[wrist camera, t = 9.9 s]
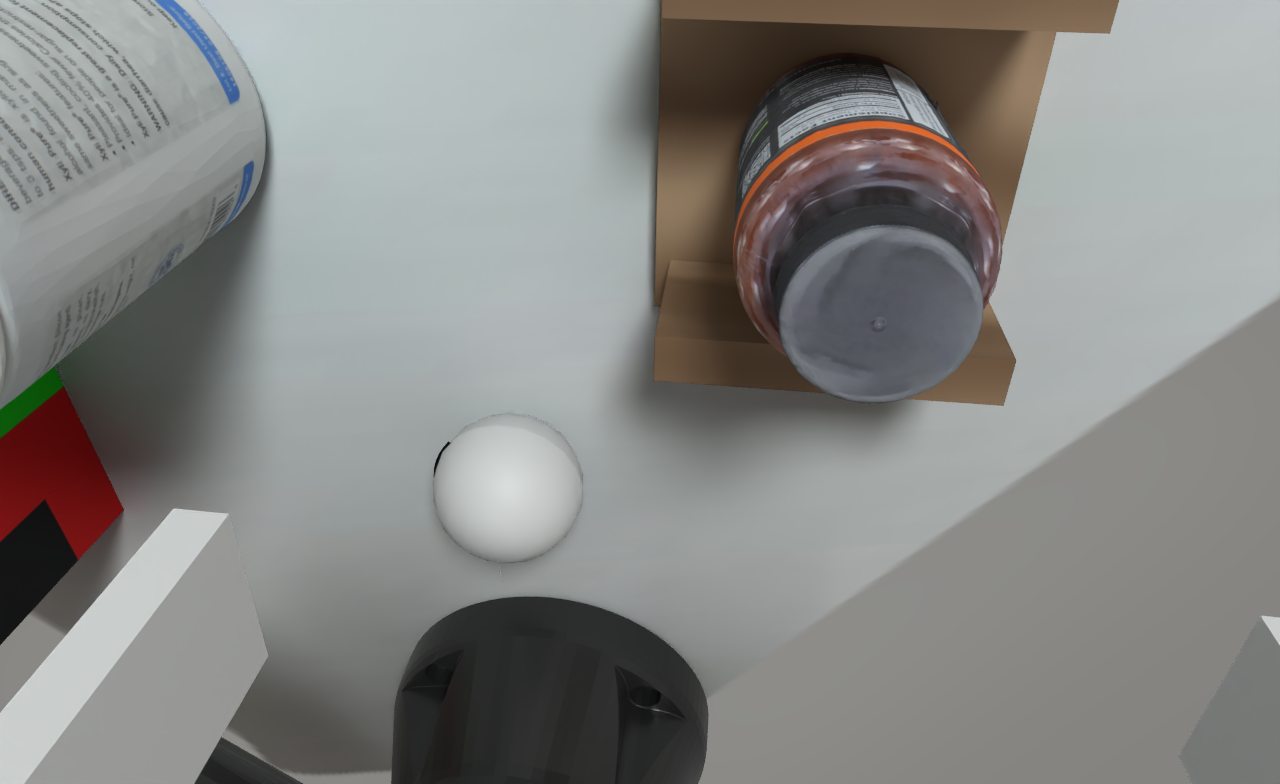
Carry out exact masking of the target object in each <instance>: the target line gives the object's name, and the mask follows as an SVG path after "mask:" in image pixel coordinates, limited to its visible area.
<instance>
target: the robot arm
mask: <svg viewBox="0 0 1280 784" xmlns="http://www.w3.org/2000/svg"><path fill="white" fill-rule="evenodd" d="M267 657H268V653H267V649H266V645H265V642H264V638H263V635H262V631H261V627H260V624H259V620H258V617H257V613H256V609H255V606H254V602H253V599H252V595H251V591H250V588H249V584H248V580H247V577H246V573H245V570H244V566H243V562H242V559H241V555H240V552H239V548H238V544H237V541H236V537H235V534H234V530H233V526H232V523H231V519H230V516H229V514H225V513H215V512H204V511H194V510H184V509H173V510H172V511H171V512H170V513H169V514H168V516H167V517H166V518H165V519H164V520H163V522H162V523H161V524H160V525H159V526H158V527H157V529H156V530H155V531H154V532H153V533H152V534H151V536H150V537H149V538H148V539H147V540H146V542H145V543H144V544H143V545H142V546H141V547H140V549H139V550H138V551H137V552H136V553H135V555H134V556H133V557H132V558H131V559H130V560H129V562H128V563H127V564H126V565H125V566H124V568H123V569H122V570H121V571H120V572H119V573H118V575H117V576H116V577H115V578H114V579H113V580H112V582H111V583H110V584H109V585H108V586H107V588H106V589H105V590H104V591H103V592H102V593H101V595H100V596H99V597H98V598H97V599H96V601H95V602H94V603H93V604H92V605H91V606H90V608H89V609H88V610H87V611H86V612H85V613H84V615H83V616H82V617H81V618H80V619H79V621H78V622H77V623H76V624H75V625H74V626H73V628H72V629H71V630H70V631H69V632H68V634H67V635H66V636H65V637H64V638H63V640H62V641H61V642H60V643H59V644H58V645H57V646H56V648H55V649H54V650H53V651H52V653H51V654H50V655H49V656H48V657H47V658H46V659H45V661H44V662H43V663H42V664H41V665H40V667H39V668H38V669H37V670H36V671H35V673H34V674H33V675H32V676H31V677H30V678H29V680H28V681H27V682H26V683H25V684H24V685H23V687H22V688H21V689H20V690H19V691H18V693H17V694H16V695H15V696H14V697H13V698H12V700H11V701H10V702H9V703H8V704H7V706H6V707H5V708H4V709H3V710H2V711H1V713H0V784H303V783H301V782H299V781H297V780H296V779H294V778H292V777H290V776H289V775H287V774H285V773H283V772H282V771H280V770H278V769H276V768H275V767H273V766H271V765H269V764H268V763H266V762H264V761H262V760H261V759H259V758H257V757H255V756H254V755H252V754H250V753H248V752H246V751H245V750H243V749H241V748H239V747H238V746H236V745H234V744H232V743H231V742H229V741H227V740H225V739H224V738H222V735H223V733H224V731H225V730H226V728H227V726H228V725H229V723H230V721H231V719H232V718H233V716H234V714H235V712H236V711H237V709H238V707H239V706H240V704H241V702H242V700H243V699H244V697H245V695H246V694H247V692H248V690H249V688H250V687H251V685H252V683H253V682H254V680H255V678H256V676H257V675H258V673H259V671H260V669H261V668H262V666H263V664H264V663H265V661H266V659H267ZM707 733H708V706H707V701H706V697H705V694H704V691H703V689H702V686H701V684H700V682H699V680H698V679H697V677H696V675H695V674H694V672H693V671H692V669H691V668H690V667H689V665H688V664H687V663H686V662H685V660H684V659H683V658H682V657H681V656H680V655H679V654H678V653H677V652H676V651H675V650H674V649H673V648H672V647H671V646H669V645H668V644H667V643H666V642H664V641H663V640H662V639H660V638H659V637H658V636H656V635H655V634H653V633H652V632H650V631H649V630H647V629H645V628H644V627H642V626H640V625H638V624H636V623H634V622H633V621H630V620H628V619H626V618H624V617H622V616H619V615H617V614H614V613H612V612H609V611H606V610H604V609H601V608H597V607H594V606H590V605H587V604H583V603H578V602H574V601H568V600H562V599H554V598H543V597H513V598H503V599H497V600H491V601H486V602H482V603H478V604H475V605H472V606H469V607H466V608H463V609H461V610H459V611H456V612H454V613H452V614H450V615H449V616H447V617H445V618H444V619H442V620H441V621H439V622H438V623H436V624H435V625H434V626H433V627H432V628H430V629H429V630H428V632H427V633H426V634H425V635H424V636H423V637H422V638H421V640H420V641H419V643H418V644H417V646H416V648H415V650H414V652H413V654H412V656H411V659H410V661H409V664H408V666H407V668H406V671H405V673H404V676H403V678H402V681H401V683H400V686H399V689H398V692H397V697H396V702H395V709H394V731H393V756H392V781H391V784H698V782H699V780H700V777H701V775H702V771H703V767H704V763H705V758H706V750H707ZM1179 758H1180V760H1181V762H1182V764H1183V766H1184V768H1185V770H1186V773H1187V775H1188V777H1189V779H1190V781H1191V783H1192V784H1280V618H1277V617H1268V616H1260V617H1259V619H1258V621H1257V622H1256V624H1255V626H1254V628H1253V629H1252V631H1251V633H1250V634H1249V636H1248V638H1247V640H1246V641H1245V643H1244V645H1243V646H1242V648H1241V650H1240V652H1239V653H1238V655H1237V657H1236V658H1235V660H1234V662H1233V663H1232V665H1231V667H1230V669H1229V670H1228V672H1227V674H1226V675H1225V677H1224V679H1223V680H1222V682H1221V684H1220V686H1219V687H1218V689H1217V691H1216V693H1215V694H1214V696H1213V698H1212V699H1211V701H1210V703H1209V704H1208V706H1207V708H1206V710H1205V711H1204V713H1203V715H1202V716H1201V718H1200V720H1199V721H1198V723H1197V725H1196V727H1195V728H1194V730H1193V732H1192V734H1191V735H1190V737H1189V738H1188V740H1187V742H1186V744H1185V745H1184V747H1183V749H1182V750H1181V752H1180V754H1179Z"/></svg>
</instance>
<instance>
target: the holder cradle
mask: <svg viewBox="0 0 1280 784" xmlns="http://www.w3.org/2000/svg"><path fill="white" fill-rule="evenodd" d="M1118 2H1119V0H661V41H660V85H659V129H658V173H657V217H656V261H655V305H654V306H661V309H660V313H659V318H658V323H657V328H656V333H655V349H654V381H664V382H678V383H692V384H706V385H720V386H734V387H748V388H762V389H776V390H790V391H804V392H818V393H826V392H824V391H822V390H820V389H818V388H817V387H815V386H814V385H812V384H811V383H809V382H808V381H807V380H806V379H805V378H803V377H802V376H801V375H800V374H799V373H798V371H797V370H796V369H795V367H794V366H793V364H792V363H791V362H790V360H789V358H788V357H787V356H785V355H784V354H782V353H781V352H780V351H778V350H777V349H776V348H774V347H773V346H772V345H771V344H770V343H769V342H768V341H767V340H766V339H765V338H764V337H763V336H762V334H761V333H760V332H759V331H758V330H757V329H756V327H755V326H754V324H753V323H752V321H751V319H750V318H749V316H748V314H747V312H746V310H745V308H744V306H743V304H742V301H741V298H740V295H739V292H738V288H737V284H736V278H735V274H734V263H733V243H734V224H735V204H736V186H737V173H738V157H739V148H740V144H741V140H742V136H743V133H744V131H745V127H746V124H747V121H748V119H749V117H750V115H751V113H752V111H753V109H754V107H755V106H756V105H757V103H758V101H759V99H760V98H761V97H762V96H763V95H764V93H765V92H766V91H767V90H768V89H769V88H770V87H771V86H772V85H773V84H774V83H775V82H776V81H777V80H778V79H779V78H780V77H781V76H783V75H784V74H786V73H787V72H789V71H790V70H792V69H793V68H795V67H797V66H799V65H801V64H803V63H805V62H808V61H810V60H813V59H815V58H819V57H823V56H827V55H833V54H844V53H855V54H864V55H870V56H873V57H877V58H880V59H882V60H884V61H887V62H890V63H892V64H893V65H895V66H897V67H898V68H900V69H902V70H903V71H904V72H905V73H907V74H908V75H909V76H910V77H912V78H913V79H914V80H915V81H916V82H917V83H918V84H919V85H920V86H921V87H922V88H923V89H924V90H925V91H926V92H927V93H928V95H929V96H930V98H931V100H933V101H934V104H935V106H936V101H938V104H939V110H940V112H941V115H942V117H943V118H944V120H945V121H946V123H947V125H948V126H949V128H950V129H951V131H952V132H953V134H954V135H955V136H956V138H957V140H958V142H959V143H960V145H961V147H962V149H964V150H965V151H966V153H967V155H968V157H969V159H970V161H971V162H972V164H973V166H974V167H975V168H976V169H977V170H978V171H979V173H980V174H981V177H982V180H983V182H984V184H985V186H986V187H987V189H988V191H989V192H990V194H991V197H992V199H993V202H994V203H995V206H996V210H997V211H998V215H999V219H1000V224H1001V228H1002V230H1001V232H1002V245H1003V241H1004V237H1005V233H1006V229H1007V225H1008V221H1009V217H1010V213H1011V210H1012V206H1013V202H1014V198H1015V194H1016V190H1017V186H1018V182H1019V178H1020V174H1021V170H1022V166H1023V162H1024V158H1025V154H1026V150H1027V147H1028V143H1029V139H1030V135H1031V131H1032V127H1033V123H1034V119H1035V115H1036V111H1037V107H1038V103H1039V99H1040V95H1041V91H1042V87H1043V84H1044V80H1045V76H1046V72H1047V68H1048V64H1049V60H1050V56H1051V52H1052V48H1053V44H1054V40H1055V36H1056V32H1079V33H1108V34H1110V31H1111V27H1112V24H1113V20H1114V17H1115V13H1116V10H1117V6H1118ZM936 107H937V106H936ZM1015 364H1016V359H1015V357H1014V354H1013V352H1012V350H1011V348H1010V346H1009V344H1008V342H1007V339H1006V337H1005V335H1004V333H1003V331H1002V329H1001V327H1000V324H999V322H998V320H997V318H996V316H995V314H994V312H993V309H992V307H991V305H990V303H989V302H988V304H987V305H986V308H985V309H984V310H983V319H982V324H981V328H980V332H979V335H978V338H977V340H976V342H975V344H974V346H973V348H972V350H971V352H970V353H969V354H968V356H967V357H966V359H965V360H964V361H963V362H962V363H961V364H960V366H959V367H958V368H957V370H955V371H954V372H953V373H952V374H950V375H949V376H948V377H947V378H946V379H944V380H943V381H942V382H941V383H939V384H938V385H936V386H935V387H933V388H932V389H929V390H927V391H925V392H922V393H919V394H917V395H916V396H913V397H909V398H905V399H916V400H931V401H945V402H959V403H973V404H987V405H1001V406H1004V402H1005V399H1006V395H1007V392H1008V388H1009V385H1010V381H1011V378H1012V374H1013V371H1014V367H1015Z"/></svg>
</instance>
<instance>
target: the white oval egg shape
mask: <svg viewBox="0 0 1280 784" xmlns="http://www.w3.org/2000/svg"><path fill="white" fill-rule="evenodd" d="M582 490H583V473H582V470H581V467H580V464H579V461H578V458H577V456H576V454H575V452H574V451H573V449H572V447H571V446H570V445H569V443H568V442H567V441H566V439H565V438H564V437H563V435H562V434H561V433H560V432H558V431H557V430H556V429H554V428H553V427H552V426H550V425H549V424H548V423H546V422H544V421H542V420H539V419H537V418H534V417H532V416H529V415H523V414H515V413H505V414H498V415H492V416H489V417H486V418H483V419H481V420H479V421H477V422H474V423H472V424H470V425H468V426H466V427H464V428H463V429H462V431H461V432H460V433H459V434H458V435H457V436H456V437H455V438H454V439H453V440H452V441H451V442H448V443H447V444H446V445H445V446H444V447H443V449H442V450H441V452H440V453H439V455H438V457H437V460H436V463H435V467H434V481H433V496H434V504H435V507H436V511H437V515H438V517H439V519H440V522H441V524H442V526H443V528H444V530H445V531H446V532H447V534H448V535H449V536H450V537H451V538H452V539H453V540H454V541H455V543H457V544H458V545H459V546H461V547H462V548H464V549H465V550H467V551H468V552H470V553H471V554H473V555H474V556H477V557H479V558H482V559H485V560H487V561H494V562H498V563H499V562H501V563H513V562H524V561H528V560H531V559H533V558H536V557H538V556H541V555H542V554H544V553H545V552H547V551H548V550H550V549H551V548H553V547H554V546H555V545H556V544H557V543H558V542H560V541H561V540H562V539H563V538H564V537H566V535H567V533H568V532H569V530H570V528H571V526H572V524H573V522H574V520H575V518H576V516H577V514H578V512H579V510H580V509H581V506H582ZM499 567H500V564H499ZM500 574H501V570H500ZM501 579H502V576H501ZM502 582H503V580H502Z"/></svg>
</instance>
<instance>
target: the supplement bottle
mask: <svg viewBox="0 0 1280 784" xmlns="http://www.w3.org/2000/svg"><path fill="white" fill-rule="evenodd" d="M936 106H937V107H936ZM936 106H935V104H934V101H933V100H931V98H930V96H929V95H928V93H927V92H926V91H925V90H924V89H923V88H922V87H921V86H920V85H919V84H918V83H917V82H916V81H915V80H914V79H913V78H912V77H910V76H909V75H908V74H907V73H905V72H904V71H903V70H902V69H900V68H898V67H897V66H895V65H893V64H892V63H890V62H887V61H884V60H882V59H880V58H877V57H873V56H870V55H864V54H855V53H844V54H833V55H827V56H823V57H819V58H815V59H813V60H810V61H808V62H805V63H803V64H801V65H799V66H797V67H795V68H793V69H792V70H790V71H789V72H787V73H786V74H784V75H783V76H781V77H780V78H779V79H778V80H777V81H776V82H775V83H774V84H773V85H772V86H771V87H770V88H769V89H768V90H767V91H766V92H765V93H764V95H763V96H762V97H761V98H760V99H759V101H758V103H757V105H756V106H755V107H754V109H753V111H752V113H751V115H750V117H749V119H748V121H747V124H746V127H745V131H744V133H743V136H742V140H741V144H740V148H739V157H738V173H737V186H736V204H735V224H734V243H733V263H734V274H735V278H736V284H737V288H738V292H739V295H740V298H741V301H742V304H743V306H744V308H745V310H746V312H747V314H748V316H749V318H750V319H751V321H752V323H753V324H754V326H755V327H756V329H757V330H758V331H759V332H760V333H761V334H762V336H763V337H764V338H765V339H766V340H767V341H768V342H769V343H770V344H771V345H772V346H773V347H774V348H776V349H777V350H778V351H780V352H781V353H782V354H784V355H785V356H787V357H788V358H789V360H790V362H791V363H792V364H793V366H794V367H795V369H796V370H797V371H798V373H799V374H800V375H801V376H802V377H803V378H805V379H806V380H807V381H808V382H809V383H811V384H812V385H814V386H815V387H817V388H818V389H820V390H822V391H824V392H826V393H827V394H830V395H832V396H835V397H838V398H842V399H845V400H848V401H854V402H861V403H883V402H893V401H898V400H901V399H905V398H909V397H913V396H916V395H917V394H919V393H922V392H925V391H927V390H929V389H932V388H933V387H935V386H936V385H938V384H939V383H941V382H942V381H943V380H944V379H946V378H947V377H948V376H949V375H950V374H952V373H953V372H954V371H955V370H957V368H958V367H959V366H960V364H961V363H962V362H963V361H964V360H965V359H966V357H967V356H968V354H969V353H970V352H971V350H972V348H973V346H974V344H975V342H976V340H977V338H978V335H979V332H980V328H981V324H982V319H983V310H984V309H985V308H986V305H987V304H988V302H989V298H990V296H991V295H992V293H993V291H994V288H995V286H996V281H997V277H998V273H999V270H1000V264H1001V257H1002V232H1001V230H1002V228H1001V224H1000V219H999V215H998V211H997V210H996V206H995V203H994V202H993V199H992V197H991V194H990V192H989V191H988V189H987V187H986V186H985V184H984V182H983V180H982V177H981V174H980V173H979V171H978V170H977V169H976V168H975V167H974V166H973V164H972V162H971V161H970V159H969V157H968V155H967V153H966V151H965V150H964V149H962V147H961V145H960V143H959V142H958V140H957V138H956V136H955V135H954V134H953V132H952V131H951V129H950V128H949V126H948V125H947V123H946V121H945V120H944V118H943V117H942V115H941V112H940V110H939V104H938V101H936Z"/></svg>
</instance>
